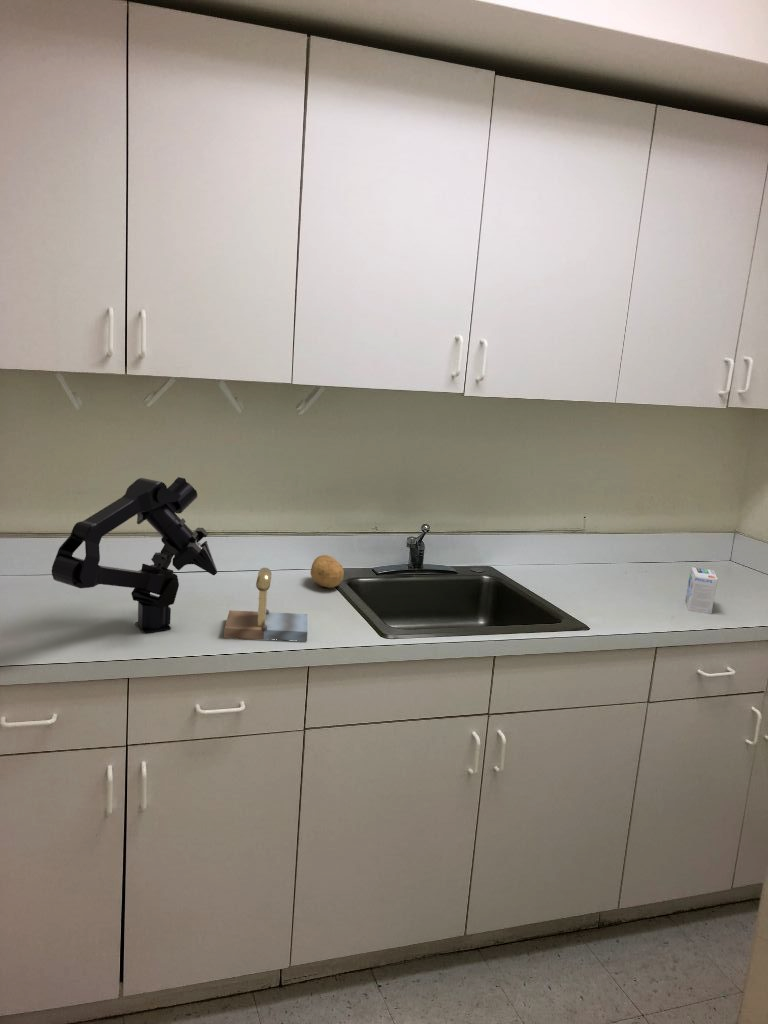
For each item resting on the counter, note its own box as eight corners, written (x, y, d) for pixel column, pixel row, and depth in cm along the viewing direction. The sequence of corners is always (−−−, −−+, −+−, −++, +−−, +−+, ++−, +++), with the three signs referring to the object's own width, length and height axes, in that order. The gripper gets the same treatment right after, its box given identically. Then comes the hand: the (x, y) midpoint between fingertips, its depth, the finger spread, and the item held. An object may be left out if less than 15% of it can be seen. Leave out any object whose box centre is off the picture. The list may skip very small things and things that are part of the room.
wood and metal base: (224, 638, 186) (224, 625, 186) (228, 620, 198) (229, 607, 197) (306, 641, 189) (307, 628, 188) (306, 623, 200) (307, 611, 199)
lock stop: (254, 626, 188) (256, 577, 186) (256, 613, 196) (258, 567, 194) (267, 626, 189) (270, 578, 186) (269, 614, 197) (271, 567, 194)
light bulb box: (684, 600, 247) (690, 566, 245) (707, 603, 245) (713, 569, 243) (688, 610, 237) (694, 575, 234) (712, 614, 235) (718, 579, 233)
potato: (313, 594, 223) (315, 566, 221) (305, 578, 236) (307, 552, 234) (348, 594, 225) (350, 566, 224) (338, 578, 239) (340, 552, 237)
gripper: (150, 537, 195) (195, 583, 199) (134, 558, 177) (184, 609, 181) (184, 507, 194) (229, 554, 198) (172, 526, 176) (221, 577, 180)
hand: (215, 573), depth 189 cm, fingers closed
